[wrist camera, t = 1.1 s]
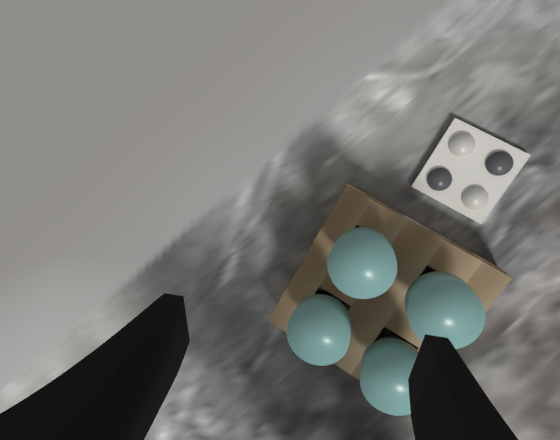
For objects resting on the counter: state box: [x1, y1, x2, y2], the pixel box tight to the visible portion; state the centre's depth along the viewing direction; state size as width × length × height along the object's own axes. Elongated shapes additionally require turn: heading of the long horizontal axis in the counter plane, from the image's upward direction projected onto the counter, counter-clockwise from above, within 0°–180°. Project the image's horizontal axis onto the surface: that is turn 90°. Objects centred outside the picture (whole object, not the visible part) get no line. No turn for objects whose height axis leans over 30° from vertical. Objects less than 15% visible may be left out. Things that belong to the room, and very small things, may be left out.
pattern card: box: [411, 118, 531, 224], centre depth 18 cm, size 4×4×1 cm
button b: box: [286, 294, 352, 366], centre depth 18 cm, size 3×3×4 cm
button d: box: [327, 227, 397, 299], centre depth 17 cm, size 3×3×4 cm
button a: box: [360, 335, 418, 416], centre depth 17 cm, size 3×3×4 cm
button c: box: [405, 272, 485, 349], centre depth 16 cm, size 3×3×4 cm
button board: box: [268, 184, 512, 381], centre depth 19 cm, size 9×9×2 cm
